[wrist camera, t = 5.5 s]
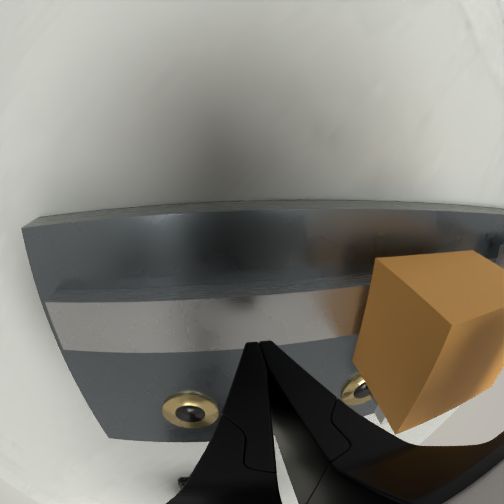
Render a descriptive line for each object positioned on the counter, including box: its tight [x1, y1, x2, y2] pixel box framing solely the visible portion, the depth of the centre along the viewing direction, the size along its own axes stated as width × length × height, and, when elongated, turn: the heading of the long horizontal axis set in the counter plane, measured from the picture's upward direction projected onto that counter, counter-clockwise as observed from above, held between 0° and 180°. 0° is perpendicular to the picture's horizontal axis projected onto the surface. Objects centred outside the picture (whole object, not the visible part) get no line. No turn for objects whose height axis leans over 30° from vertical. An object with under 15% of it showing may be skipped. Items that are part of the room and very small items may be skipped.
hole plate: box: [22, 200, 504, 442], centre depth 12 cm, size 14×30×7 cm, turn 90°
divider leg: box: [352, 250, 504, 434], centre depth 11 cm, size 10×6×5 cm, turn 0°
